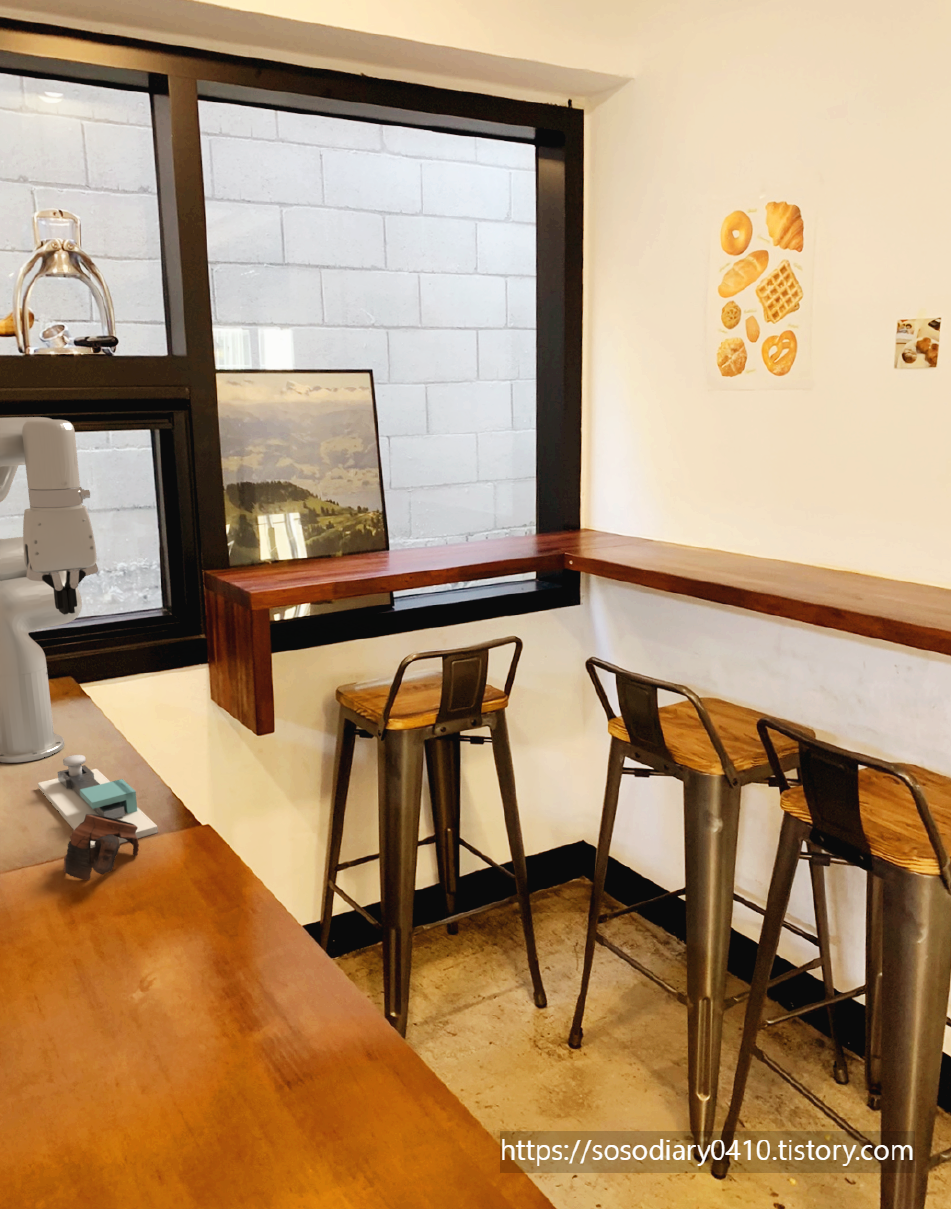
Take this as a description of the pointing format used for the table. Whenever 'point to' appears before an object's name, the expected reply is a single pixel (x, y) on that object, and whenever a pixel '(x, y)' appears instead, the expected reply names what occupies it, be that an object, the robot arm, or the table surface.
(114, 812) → the swing link
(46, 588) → the robot arm
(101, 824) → the brown two-tone legged part
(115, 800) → the keeper bracket
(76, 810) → the base plank
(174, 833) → the table surface
